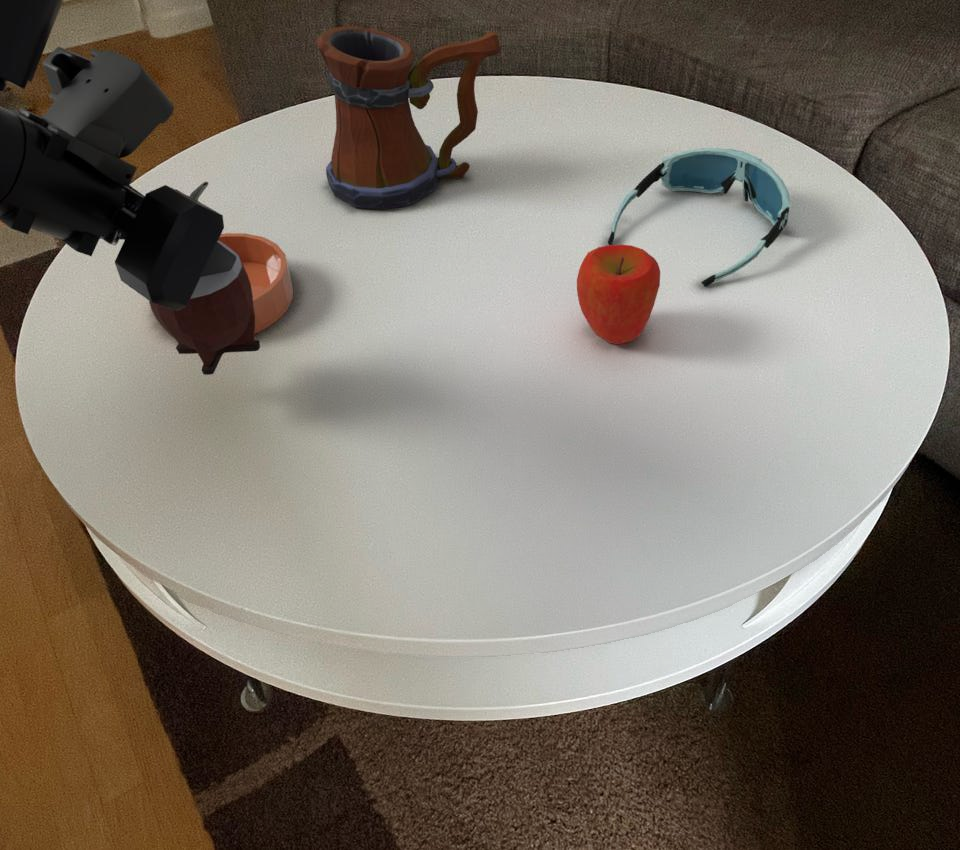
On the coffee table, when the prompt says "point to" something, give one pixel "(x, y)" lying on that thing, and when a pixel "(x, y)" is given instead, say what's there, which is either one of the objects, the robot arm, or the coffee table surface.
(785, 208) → the sunglasses
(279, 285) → the holder
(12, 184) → the robot arm
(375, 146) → the mug
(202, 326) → the mate gourd
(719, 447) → the coffee table surface
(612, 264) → the apple
